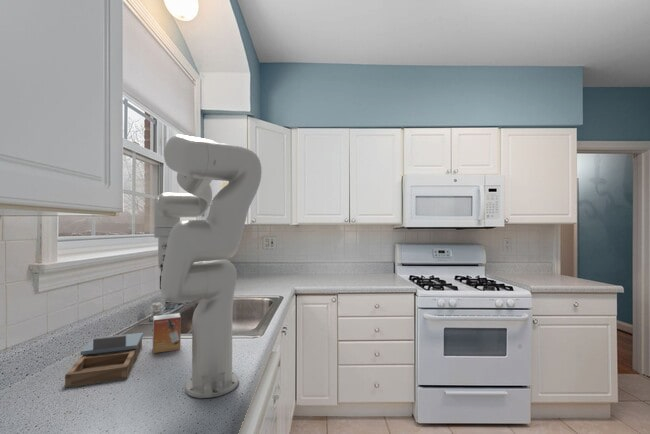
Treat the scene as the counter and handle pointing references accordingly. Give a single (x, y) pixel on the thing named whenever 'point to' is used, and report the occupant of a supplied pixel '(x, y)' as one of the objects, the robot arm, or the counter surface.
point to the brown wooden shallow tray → (102, 367)
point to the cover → (112, 343)
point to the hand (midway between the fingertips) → (166, 285)
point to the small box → (166, 332)
